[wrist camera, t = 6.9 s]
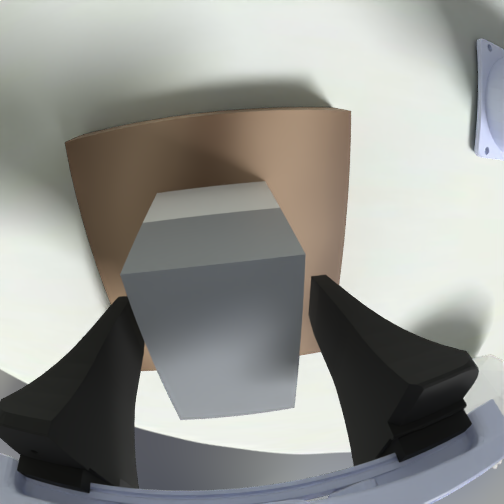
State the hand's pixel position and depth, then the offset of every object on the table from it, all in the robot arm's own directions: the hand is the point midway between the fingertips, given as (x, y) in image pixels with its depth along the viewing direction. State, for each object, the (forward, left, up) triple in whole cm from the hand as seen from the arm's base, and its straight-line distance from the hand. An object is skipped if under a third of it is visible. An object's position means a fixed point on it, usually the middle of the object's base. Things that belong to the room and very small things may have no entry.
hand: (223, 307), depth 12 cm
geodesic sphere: (-24, +20, -5) cm, 32 cm away
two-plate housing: (0, -1, -3) cm, 3 cm away
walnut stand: (0, 0, -5) cm, 5 cm away
